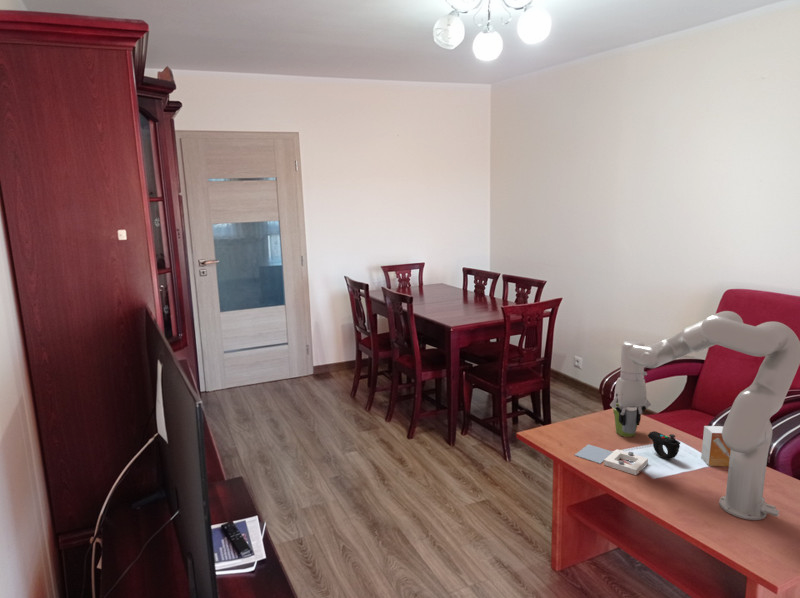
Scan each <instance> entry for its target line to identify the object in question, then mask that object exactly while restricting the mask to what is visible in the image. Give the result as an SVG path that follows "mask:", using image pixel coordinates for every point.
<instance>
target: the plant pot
mask: <svg viewBox="0 0 800 598" xmlns="http://www.w3.org/2000/svg"><path fill="white" fill-rule="evenodd" d="M616 406H617V407H619V404H618V403H617V404H616ZM611 408H612V410H613V414H614V425H615V426H614V427H615V433H616V435H619V436H621V437H626V438H630V437H635V436H636V433H633V434H630V433H625V432H623V431H622V427H623V425H622V424H621V423H620V422H619V412H618V411H617V410H616V409H614V408H613V407H611ZM637 428H638V425H637V424H636V430H637Z"/></svg>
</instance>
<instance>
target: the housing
mask: <svg viewBox="0 0 800 598" xmlns="http://www.w3.org/2000/svg"><path fill="white" fill-rule="evenodd" d="M612 452H613V453H611V454H610V455H609V456H608V457H607V458H606V459H604V461H603V465H604V466H607V467H608V468H612V469H615V470H619V471H621V472H624V473H628V474H630V475H634V476H637V475H638V474H639V473H640V472H641V471H642V470H643V469H644V468H645V467H646V466H647V465H648V464H649V462H648V461H649V458H647V457H645V456H640V455H638V454H635V453H634V452H633V451H628V452H627V451H624V450H621V449H619V448H618V449H617V448H616V449H615V450H614V451H612ZM620 459H621V460H620ZM624 459H625V461H627V460H630V461H629V462H631V461H633V462H632V463H633V464H629V463H626V462H625V461H624ZM634 462H635V463H634ZM647 463H648V464H647ZM646 464H647V465H646ZM645 465H646V466H645ZM644 466H645V467H644ZM643 467H644V468H643ZM642 468H643V469H642ZM641 469H642V470H641ZM640 470H641V471H640ZM639 471H640V472H639Z"/></svg>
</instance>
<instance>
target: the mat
mask: <svg viewBox="0 0 800 598" xmlns="http://www.w3.org/2000/svg"><path fill="white" fill-rule="evenodd" d="M613 452H614V451H611V450H608V449H605V448H602V447H599V446H595V445H591V444H588V443H587V444H586V446H584V447H583V448H581V449H580V450H579V451H577V452H576V453H575V454H574V456H575V457H578V458H581V459H584V460H587V461H589V462H590V461H591V462H593V463H595V464H600V465H602V463H604V459H606V458H607V457H608V456H609V455H610V454H611V453H613Z"/></svg>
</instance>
